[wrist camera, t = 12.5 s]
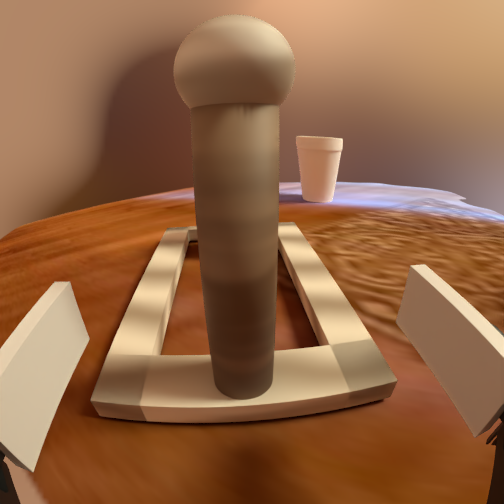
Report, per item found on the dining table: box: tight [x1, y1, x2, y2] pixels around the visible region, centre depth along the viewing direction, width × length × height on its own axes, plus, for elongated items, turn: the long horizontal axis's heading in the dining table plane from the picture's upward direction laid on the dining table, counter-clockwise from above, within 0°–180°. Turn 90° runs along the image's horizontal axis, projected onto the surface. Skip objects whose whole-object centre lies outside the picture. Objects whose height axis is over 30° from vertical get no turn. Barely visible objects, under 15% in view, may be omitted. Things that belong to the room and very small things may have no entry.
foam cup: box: [296, 136, 343, 203], centre depth 57 cm, size 10×9×13 cm
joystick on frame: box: [90, 15, 398, 423], centre depth 23 cm, size 28×17×18 cm, turn 5°
